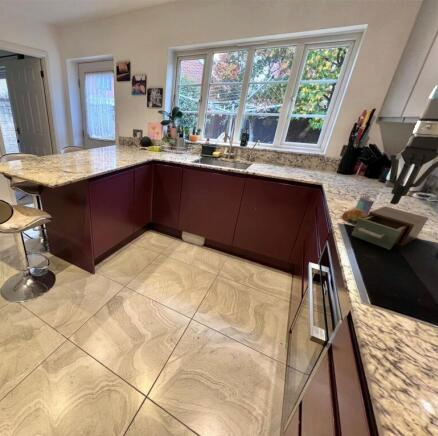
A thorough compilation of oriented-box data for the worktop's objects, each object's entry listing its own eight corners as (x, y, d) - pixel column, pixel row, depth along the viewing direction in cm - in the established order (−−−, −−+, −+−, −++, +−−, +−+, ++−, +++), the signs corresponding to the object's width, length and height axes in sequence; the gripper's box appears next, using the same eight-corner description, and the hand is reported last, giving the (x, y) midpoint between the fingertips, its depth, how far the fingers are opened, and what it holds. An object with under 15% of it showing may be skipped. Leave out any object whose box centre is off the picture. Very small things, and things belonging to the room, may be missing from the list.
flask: (367, 218, 117) (377, 198, 113) (360, 217, 118) (369, 197, 114) (357, 211, 126) (366, 192, 121) (351, 210, 126) (359, 192, 122)
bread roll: (365, 231, 111) (377, 217, 109) (355, 225, 107) (368, 210, 105) (344, 222, 120) (355, 209, 118) (334, 216, 116) (345, 202, 113)
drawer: (384, 253, 85) (394, 234, 82) (345, 237, 95) (352, 220, 92) (404, 241, 94) (415, 224, 90) (366, 228, 104) (374, 212, 100)
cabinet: (401, 246, 92) (414, 224, 88) (359, 231, 103) (369, 211, 99) (416, 238, 99) (428, 217, 95) (375, 225, 110) (385, 206, 106)
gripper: (396, 134, 79) (367, 199, 89) (455, 138, 68) (414, 211, 78) (405, 133, 82) (376, 196, 92) (462, 137, 72) (422, 207, 82)
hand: (393, 203), depth 85 cm, fingers closed
